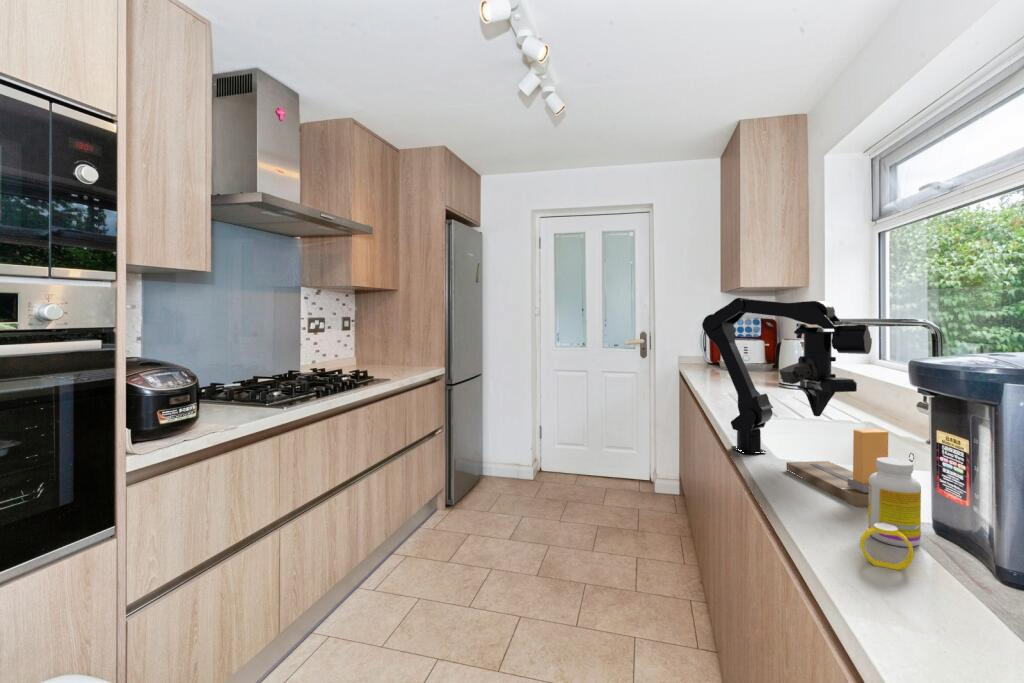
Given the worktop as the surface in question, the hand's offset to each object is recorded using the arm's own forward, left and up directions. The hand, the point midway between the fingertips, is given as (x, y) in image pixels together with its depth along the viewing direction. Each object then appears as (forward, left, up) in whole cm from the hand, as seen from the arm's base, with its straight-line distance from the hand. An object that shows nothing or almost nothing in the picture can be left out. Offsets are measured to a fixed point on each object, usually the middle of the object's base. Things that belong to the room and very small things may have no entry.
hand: (816, 416), depth 116 cm
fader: (+23, -5, -10) cm, 25 cm away
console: (+15, -5, -12) cm, 20 cm away
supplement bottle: (+39, -14, -12) cm, 43 cm away
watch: (+47, -22, -12) cm, 53 cm away
